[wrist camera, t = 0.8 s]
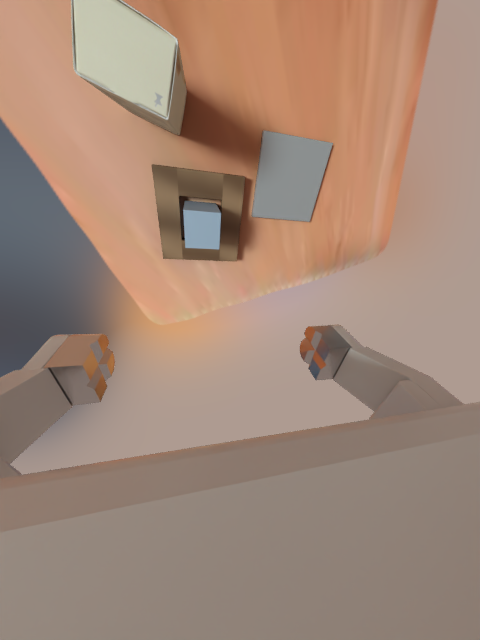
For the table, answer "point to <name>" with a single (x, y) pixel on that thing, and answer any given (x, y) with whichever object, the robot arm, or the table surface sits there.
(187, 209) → the blue block
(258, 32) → the table surface
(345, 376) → the robot arm
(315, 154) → the ceramic pad
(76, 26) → the skincare box
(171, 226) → the walnut stand
